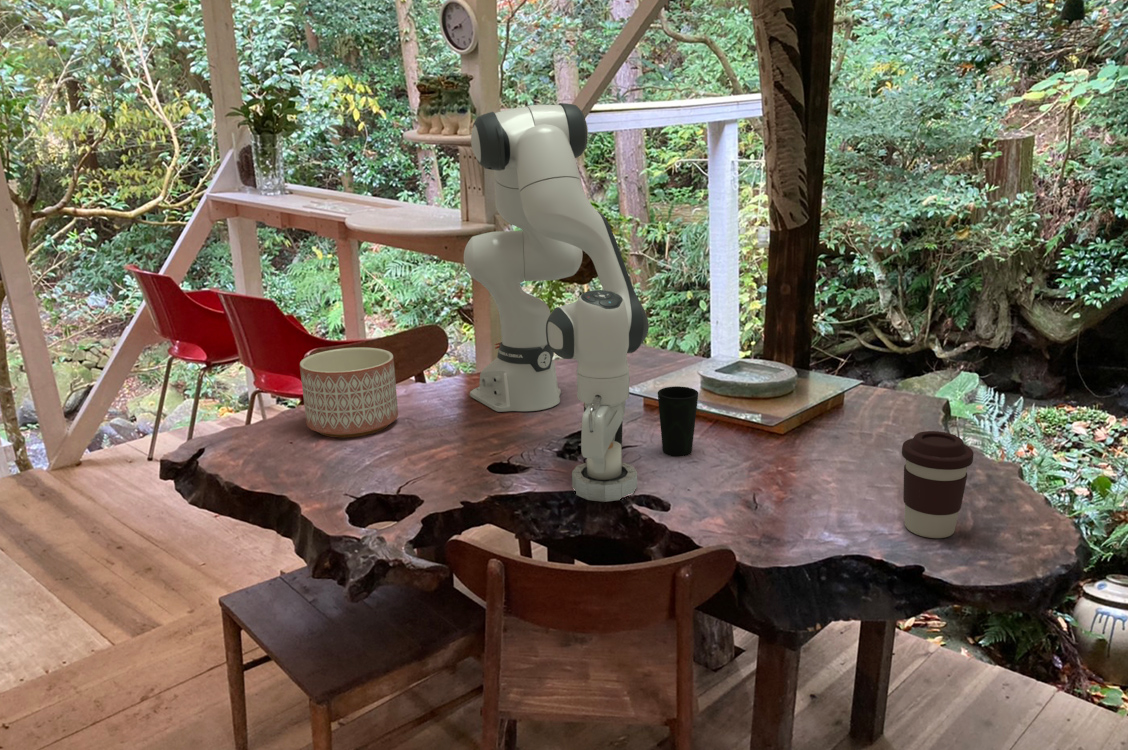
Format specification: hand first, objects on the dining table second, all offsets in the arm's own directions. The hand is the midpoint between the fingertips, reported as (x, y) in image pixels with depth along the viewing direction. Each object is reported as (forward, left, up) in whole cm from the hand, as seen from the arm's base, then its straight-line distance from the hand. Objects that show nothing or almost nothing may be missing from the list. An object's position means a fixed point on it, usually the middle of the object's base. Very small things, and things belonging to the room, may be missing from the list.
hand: (604, 463), depth 152 cm
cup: (-2, +22, -5) cm, 23 cm away
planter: (-62, -14, -5) cm, 64 cm away
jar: (0, 0, -2) cm, 2 cm away
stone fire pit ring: (0, 0, -5) cm, 5 cm away
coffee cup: (+47, +24, -5) cm, 53 cm away
